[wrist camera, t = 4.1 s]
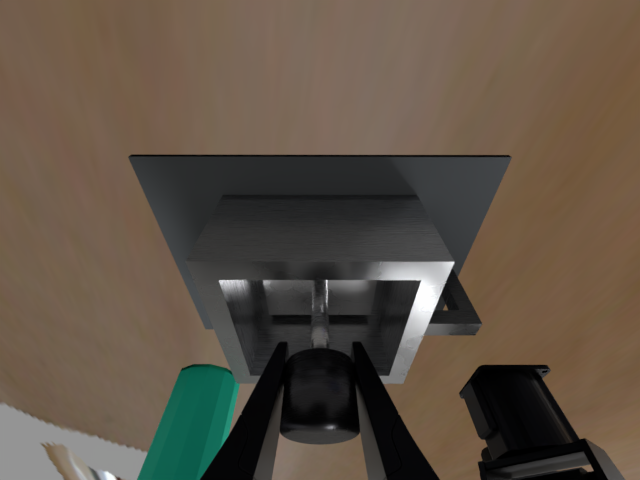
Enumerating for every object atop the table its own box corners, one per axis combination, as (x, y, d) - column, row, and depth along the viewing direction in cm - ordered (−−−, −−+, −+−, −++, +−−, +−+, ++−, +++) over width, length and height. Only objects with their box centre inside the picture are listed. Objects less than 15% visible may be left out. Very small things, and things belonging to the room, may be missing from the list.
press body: (473, 194, 14) (532, 261, 10) (426, 314, 20) (451, 383, 16) (222, 194, 14) (185, 261, 10) (252, 313, 20) (236, 383, 16)
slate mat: (508, 154, 13) (511, 157, 13) (432, 326, 22) (434, 329, 22) (131, 154, 13) (128, 156, 13) (206, 326, 22) (205, 329, 22)
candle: (176, 360, 25) (91, 561, 16) (242, 367, 26) (199, 561, 17) (180, 388, 29) (113, 565, 19) (238, 394, 30) (201, 565, 20)
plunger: (383, 227, 15) (434, 392, 8) (369, 307, 19) (395, 457, 12) (256, 227, 15) (205, 392, 8) (270, 307, 19) (244, 457, 12)
